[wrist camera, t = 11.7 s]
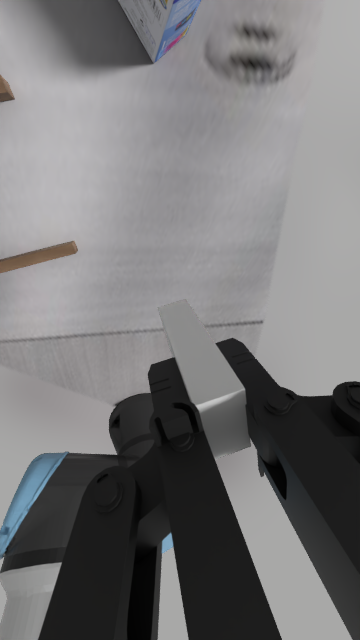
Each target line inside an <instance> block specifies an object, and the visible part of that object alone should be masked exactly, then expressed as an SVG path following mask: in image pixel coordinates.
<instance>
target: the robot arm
mask: <svg viewBox="0 0 360 640" xmlns="http://www.w3.org/2000/svg"><path fill="white" fill-rule="evenodd" d="M158 310H159V313H160V317H161V320H162V324H163V327H164V331H165V334H166V338H167V341H168V345H169V348H170V351H171V354H172V357H173V358H170V359H167V360H164V361H161V362H158V363H155V364H152V365H151V367H150V370H149V372H148V379H149V385H150V391H151V394H140V395H136V396H132V397H130V398H128V399H126V400H124V401H123V402H121V403H120V404H119V405H117V406H116V408H115V409H114V410H113V412H112V413H111V416H110V419H109V433H110V437H111V439H112V442H113V444H114V447H115V449H116V452H117V455H106V454H80V453H69V452H65V453H44V454H41V455H39V456H37V457H36V458H35V459H34V460H33V461H32V462H31V464H30V465H29V467H28V468H27V470H26V472H25V474H24V476H23V478H22V480H21V482H20V484H19V486H18V489H17V491H16V493H15V495H14V498H13V500H12V502H11V505H10V507H9V509H8V511H7V514H6V517H5V519H4V522H3V526H2V528H1V530H0V559H2V558H3V557H4V561H3V564H2V568H1V571H0V582H1V584H2V586H3V588H4V590H5V591H6V595H7V602H6V605H5V609H4V613H3V616H2V620H1V624H0V640H157V639H158V619H159V599H160V578H161V559H162V553H164V552H165V551H167V550H169V549H170V548H172V547H174V552H175V559H176V564H177V571H178V577H179V583H180V589H181V595H182V601H183V607H184V614H185V620H186V626H187V632H188V637H189V640H282V638H281V636H280V633H279V631H278V628H277V625H276V622H275V620H274V617H273V614H272V612H271V609H270V607H269V604H268V601H267V598H266V596H265V593H264V590H263V587H262V585H261V582H260V579H259V577H258V574H257V571H256V569H255V566H254V563H253V561H252V558H251V555H250V553H249V550H248V547H247V545H246V542H245V539H244V537H243V534H242V532H241V529H240V526H239V524H238V520H237V518H236V515H235V512H234V510H233V507H232V505H231V502H230V499H229V496H228V494H227V491H226V488H225V486H224V483H223V480H222V478H221V475H220V472H219V470H218V467H217V464H216V462H215V459H218V458H221V457H224V456H226V455H229V454H232V453H234V452H237V451H239V450H242V449H245V448H248V447H250V446H251V443H250V438H251V440H252V442H253V444H254V445H255V447H256V449H257V455H258V467H259V472H260V475H261V477H262V476H264V472H265V474H266V476H267V478H268V480H269V482H270V484H271V486H272V488H273V490H274V491H275V493H276V495H277V497H278V499H279V501H280V503H281V505H282V507H283V508H284V510H285V512H286V514H287V516H288V518H289V520H290V522H291V524H292V526H293V527H294V529H295V531H296V533H297V535H298V537H299V539H300V541H301V543H302V544H303V546H304V548H305V550H306V552H307V554H308V556H309V558H310V560H311V561H312V563H313V565H314V567H315V569H316V571H317V573H318V575H319V577H320V579H321V580H322V582H323V584H324V586H325V588H326V590H327V592H328V594H329V596H330V597H331V599H332V601H333V603H334V605H335V607H336V609H337V611H338V613H339V615H340V617H341V618H342V620H343V622H344V624H345V626H346V628H347V630H348V632H349V633H350V635H351V637H352V639H353V640H360V382H356V381H354V382H344V383H342V384H339V385H337V387H336V388H335V389H334V390H333V395H331V396H311V397H309V396H299V395H297V394H295V393H294V392H293V391H291V390H288V389H286V388H283V387H280V386H279V385H278V384H277V383H276V382H275V381H274V380H273V379H272V377H271V376H270V375H269V374H268V372H267V371H266V370H265V369H264V368H263V366H262V365H261V364H260V363H259V362H258V361H257V359H255V357H254V356H253V355H252V353H251V352H249V350H248V349H247V348H246V346H245V345H244V344H243V343H242V342H240V341H238V340H236V339H234V338H230V339H227V340H224V341H221V342H218V343H215V342H214V341H213V339H212V338H211V336H210V335H209V333H208V332H207V330H206V329H205V327H204V326H203V324H202V323H201V321H200V320H199V318H198V317H197V315H196V313H195V312H194V310H193V309H192V307H191V306H190V304H189V303H188V301H187V300H186V299H184V300H181V301H177V302H174V303H171V304H167V305H164V306H161V307H158Z"/></svg>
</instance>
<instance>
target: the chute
mask: <svg viewBox="0 0 360 640" xmlns="http://www.w3.org/2000/svg"><path fill="white" fill-rule="evenodd" d="M13 99H15V98H14V96H13V94H12V91H11V89H10V87H9V84H8V82H7V81H6V80H5V79H4V78H3V77H2V76H1V75H0V102H2V101H8V100H13ZM77 251H78V249H77V246H76V244H75V242H74V241H71V242H67V243H63V244H59V245H56V246H52V247H48V248H44V249H40V250H36V251H32V252H28V253H24V254H21V255H17V256H13V257H9V258H5V259H1V260H0V273H3V272H7V271H10V270H14V269H18V268H22V267H26V266H30V265H33V264H37V263H41V262H45V261H49V260H52V259H56V258H60V257H64V256H68V255H71V254H75V253H76V252H77Z"/></svg>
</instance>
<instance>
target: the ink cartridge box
mask: <svg viewBox="0 0 360 640" xmlns="http://www.w3.org/2000/svg"><path fill="white" fill-rule="evenodd" d="M118 1H119V3H120V5H121V7H122V9H123V10H124V12H125V14H126V15H127V17H128V19H129V21H130V23H131V24H132V26H133V28H134V30H135V31H136V33H137V35H138V37H139V39H140V40H141V42H142V44H143V45H144V47H145V49H146V51H147V53H148V54H149V56H150V58H151V60H152V61H153V62H154V63H155V62H156V61H157V60H159V59H160V58H161V57H162V56H163V55H164V54H165V53H166V52H167V51H169V50H170V49H171V48H172V47H173V46H174V45H175V44H177V43H178V42H179V41H180V40H181V39H182V38H183V37H184V36H185V35H186V34H187V31H188V29H189V27H190V24H191V22H192V20H193V17H194V15H195V13H196V10H197V8H198V6H199V4H200V1H201V0H118Z"/></svg>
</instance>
